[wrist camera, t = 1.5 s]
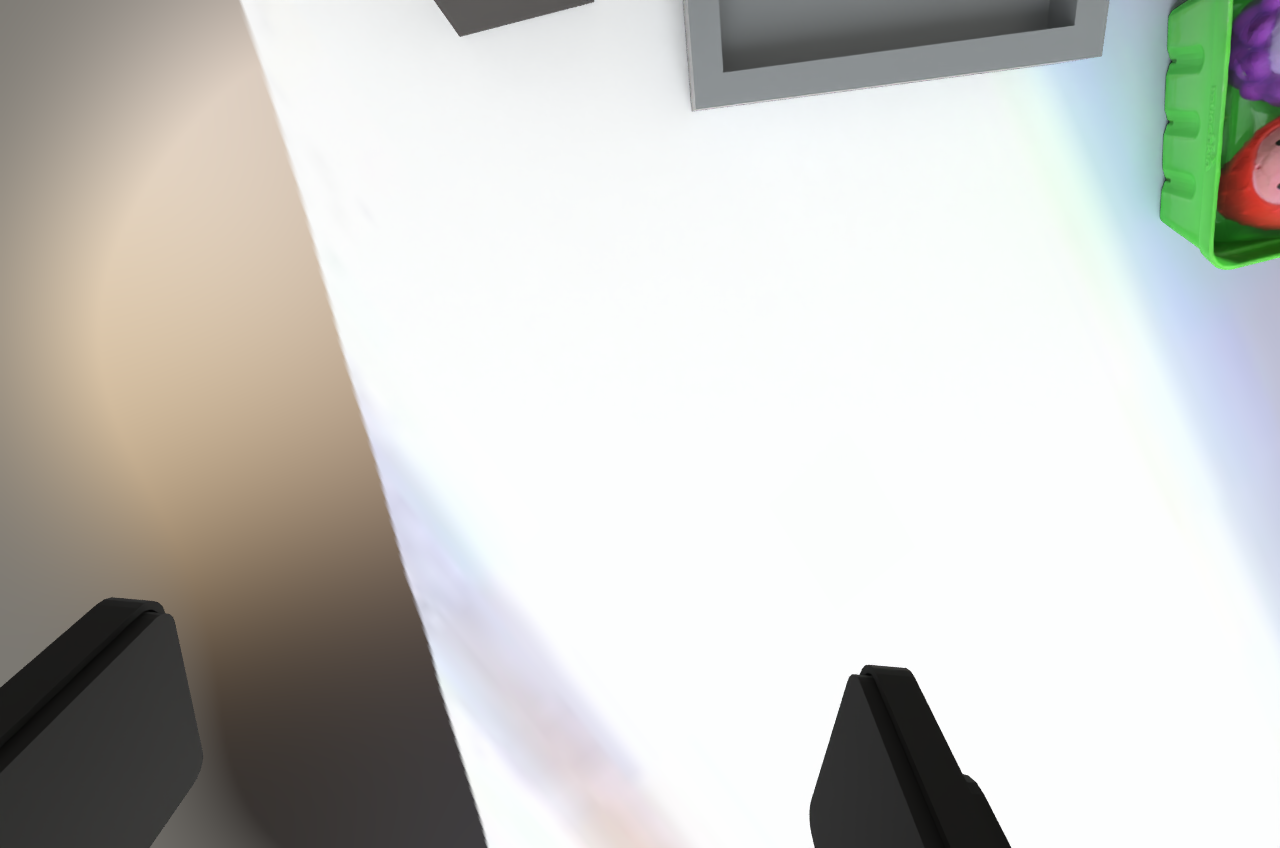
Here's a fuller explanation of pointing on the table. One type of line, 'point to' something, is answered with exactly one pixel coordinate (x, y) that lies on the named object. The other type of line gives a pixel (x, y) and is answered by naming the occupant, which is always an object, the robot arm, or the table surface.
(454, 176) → the table surface
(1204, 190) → the fruit basket
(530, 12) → the phone stand
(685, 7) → the tray
